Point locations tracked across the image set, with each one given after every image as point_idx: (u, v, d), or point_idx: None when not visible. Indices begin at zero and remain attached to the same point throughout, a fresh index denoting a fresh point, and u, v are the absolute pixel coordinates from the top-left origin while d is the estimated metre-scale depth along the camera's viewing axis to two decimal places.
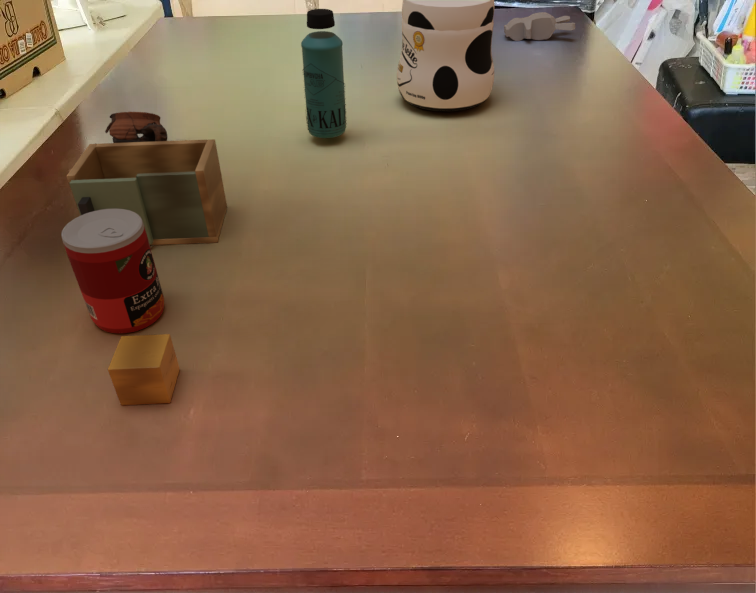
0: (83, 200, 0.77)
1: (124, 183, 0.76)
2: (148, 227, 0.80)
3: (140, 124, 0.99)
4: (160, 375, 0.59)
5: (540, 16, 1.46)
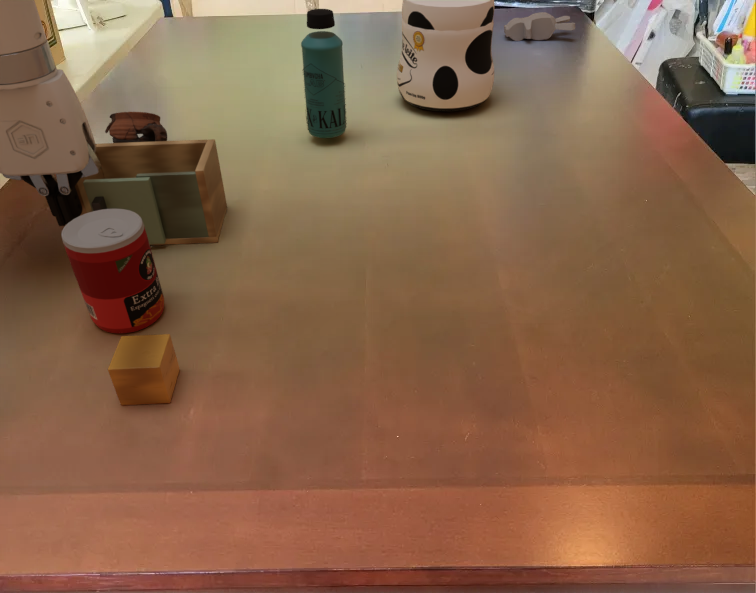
0: (97, 200, 0.77)
1: (137, 182, 0.76)
2: (161, 226, 0.80)
3: (140, 124, 0.99)
4: (160, 375, 0.59)
5: (540, 16, 1.46)
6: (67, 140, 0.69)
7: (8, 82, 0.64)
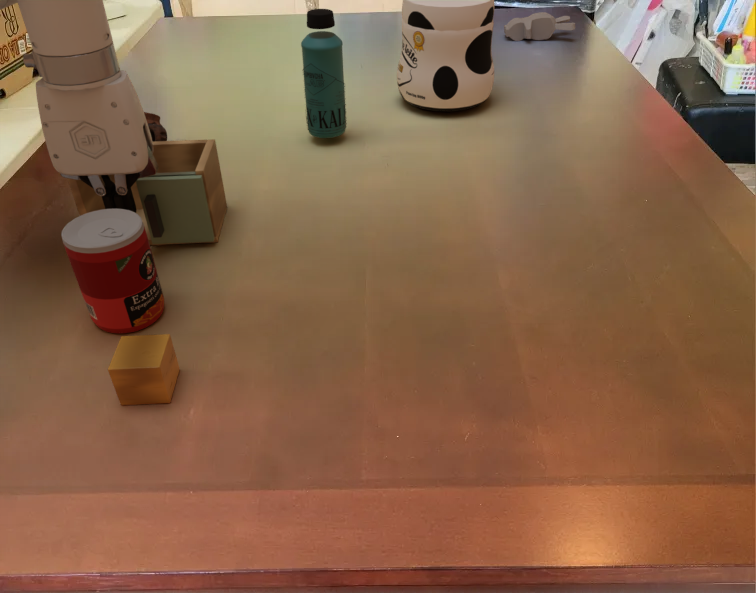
0: (149, 198, 0.77)
1: (190, 180, 0.77)
2: (210, 224, 0.81)
3: None
4: (160, 375, 0.59)
5: (540, 16, 1.46)
6: (129, 141, 0.69)
7: (76, 83, 0.64)
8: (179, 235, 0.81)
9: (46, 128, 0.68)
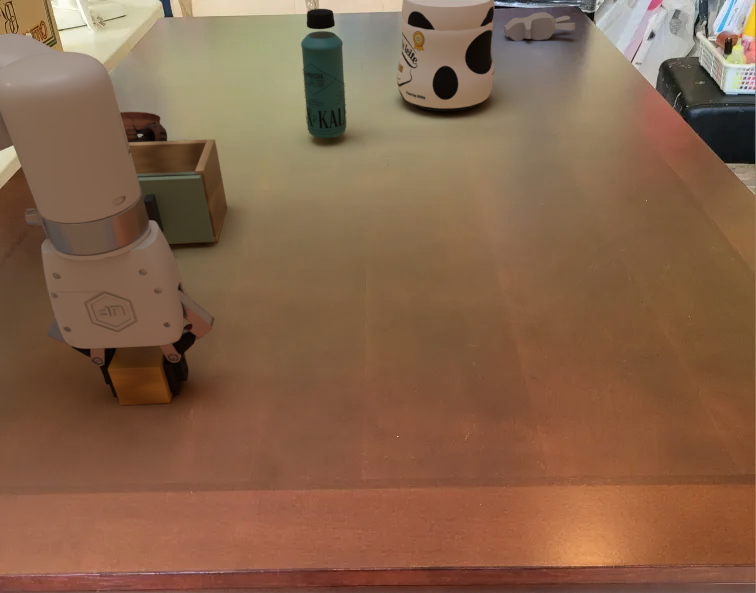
0: (148, 198, 0.77)
1: (189, 180, 0.77)
2: (210, 224, 0.81)
3: (140, 124, 0.99)
4: (160, 375, 0.59)
5: (540, 16, 1.46)
6: (161, 311, 0.54)
7: (94, 252, 0.49)
8: (178, 235, 0.81)
9: (55, 298, 0.53)
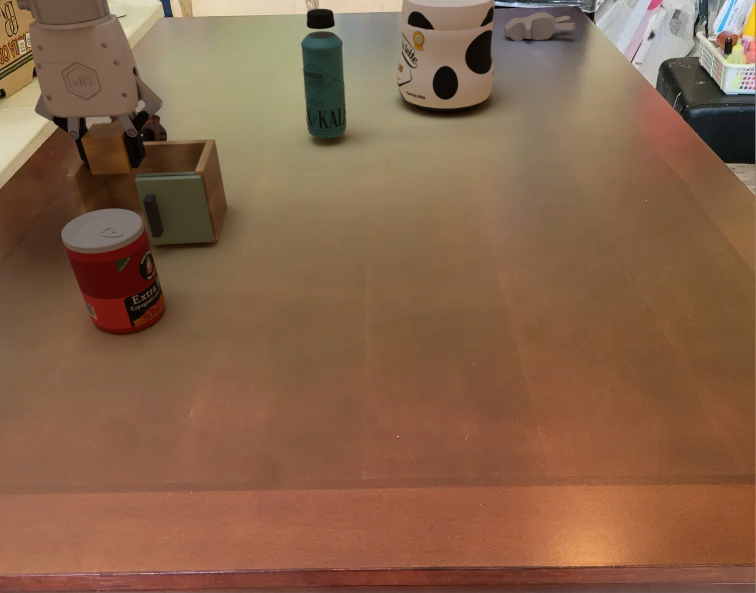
0: (148, 198, 0.77)
1: (189, 180, 0.77)
2: (210, 224, 0.81)
3: None
4: (121, 145, 0.77)
5: (540, 16, 1.46)
6: (119, 82, 0.72)
7: (67, 22, 0.67)
8: (178, 235, 0.81)
9: (39, 69, 0.71)
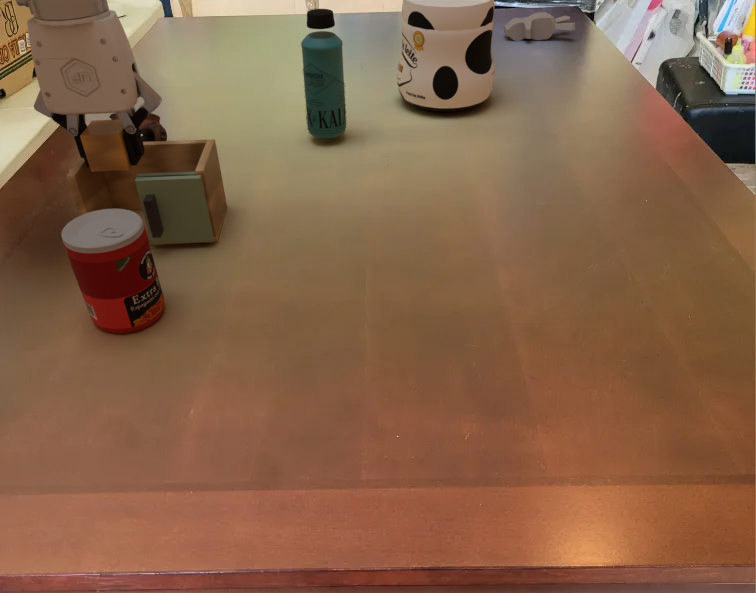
0: (148, 198, 0.77)
1: (189, 180, 0.77)
2: (210, 224, 0.81)
3: None
4: (120, 142, 0.76)
5: (540, 16, 1.46)
6: (118, 78, 0.72)
7: (66, 18, 0.67)
8: (178, 235, 0.81)
9: (38, 65, 0.70)
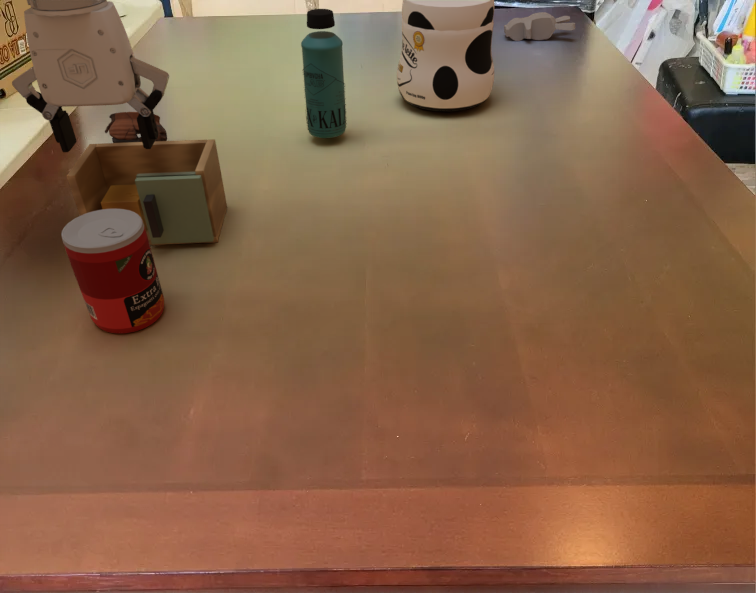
0: (148, 198, 0.77)
1: (189, 180, 0.77)
2: (210, 224, 0.81)
3: None
4: (138, 208, 0.82)
5: (540, 16, 1.46)
6: (116, 70, 0.71)
7: (63, 8, 0.66)
8: (178, 235, 0.81)
9: (34, 56, 0.70)
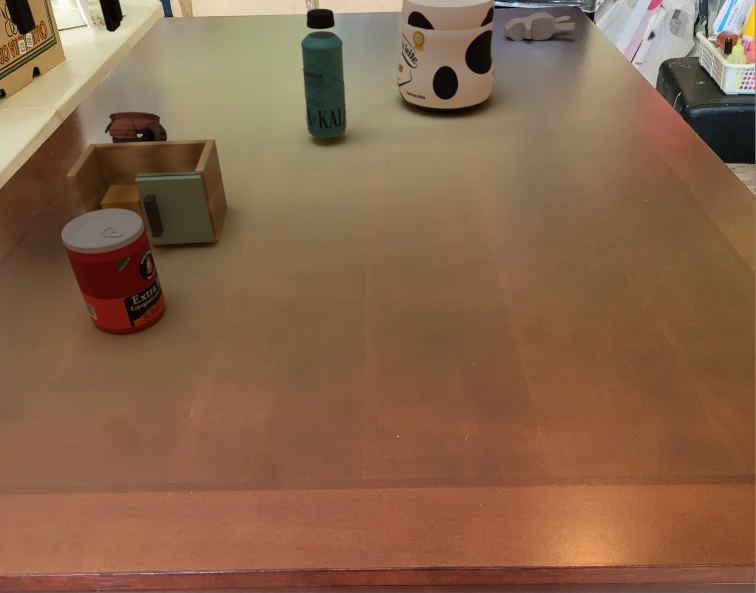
0: (148, 198, 0.77)
1: (189, 180, 0.77)
2: (210, 224, 0.81)
3: (140, 124, 0.99)
4: (138, 208, 0.82)
5: (540, 16, 1.46)
6: None
7: None
8: (178, 235, 0.81)
9: None
